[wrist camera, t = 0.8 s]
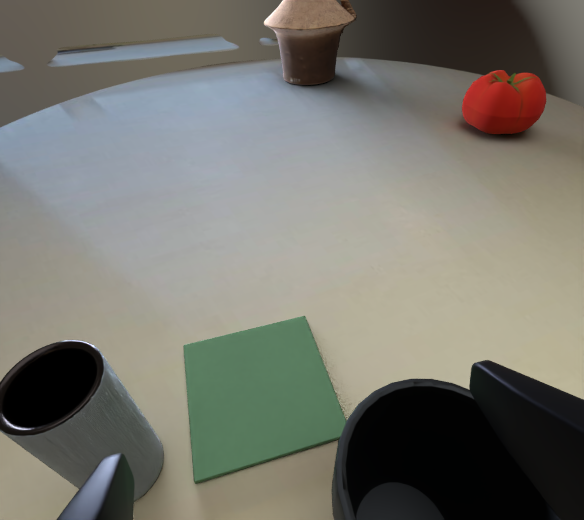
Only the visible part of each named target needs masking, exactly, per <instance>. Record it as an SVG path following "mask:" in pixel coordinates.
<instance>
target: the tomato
mask: <svg viewBox="0 0 584 520" xmlns="http://www.w3.org/2000/svg"><path fill="white" fill-rule="evenodd" d="M545 104H546V91H545V89H544V87H543V85H542V83H541V81H540V79H539V77H537V76H536V75H534V74H531V73H520V74H517V75H516V73H514V74H513V75H512V76H508V75H507V74H506V73H505V71H503V70H498V71H494V72H491V73H489V74H488V75H485V76H481V77H480V78H479V79H478V80H476V81H474V82H473V84H472V85H471V86H470V88H469V89H468V91H467V92H466V95H465V97H464V99H463V105H462V112H463V116H464V119H465V120H466V122H467V123H468V124H470V125H472V126H474V127H476V128H477V129H479V130H480V131H482V132H485V133H488V134H513V133H518V132H522V131H524V130H526V129H528V128H530V127H531V126H532V125H533V124H534V123H535V122H536V121H537V120H538V119H539V118H540V116H541V114H542V113H543V111H544V108H545Z"/></svg>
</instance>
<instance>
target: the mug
mask: <svg viewBox="0 0 584 520" xmlns="http://www.w3.org/2000/svg"><path fill="white" fill-rule="evenodd" d="M332 507H333V517H334V520H560V519H559V518H558V516H557V515H556V514H555V512H554V511H553V510H552V508H551V507H550V506H549V505H548V503H547V502H546V501H545V499H544V498H543V497H542V495H541V494H540V493H539V492H538V490H537V489H536V488H535V486H534V485H533V484H532V482H531V481H530V480H529V478H528V477H527V476H526V475H525V473H524V472H523V471H522V469H521V468H520V467H519V465H518V464H517V463H516V462H515V460H514V459H513V458H512V456H511V455H510V454H509V452H508V451H507V449H506V448H505V447H504V445H503V444H502V442H501V441H500V439H499V438H498V436H497V434H496V433H495V431H494V430H493V428H492V426H491V425H490V423H489V422H488V420H487V419H486V417H485V415H484V414H483V412H482V411H481V409H480V407H479V406H478V404H477V403H476V401H475V400H474V398H473V396H472V394H471V392H470V390H468V389H466V388H463V387H461V386H458V385H456V384H453V383H449V382H444V381H439V380H434V379H408V380H403V381H399V382H394V383H391V384H389V385H386V386H384V387H382V388H380V389H378V390H376V391H374V392H373V393H371V394H370V395H369V396H368V397H367V398H365V399H364V400H363V401H362V402H361V403H359V404H358V406H357V407H356V408H355V410H354V411H353V413H352V414H351V415H350V417H349V418H348V420H347V421H346V424H345V426H344V429H343V431H342V434H341V436H340V439H339V441H338V448H337V454H336V461H335V467H334V474H333V481H332Z"/></svg>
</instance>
